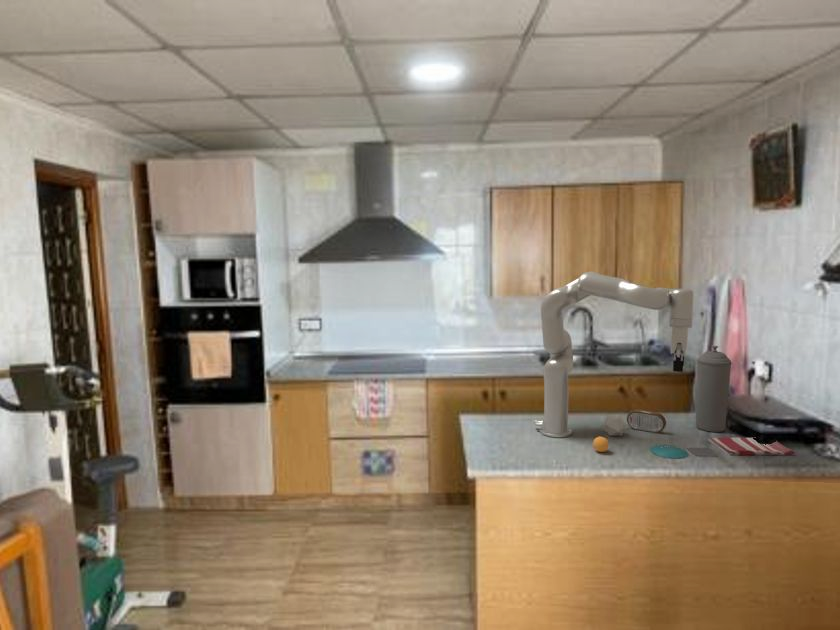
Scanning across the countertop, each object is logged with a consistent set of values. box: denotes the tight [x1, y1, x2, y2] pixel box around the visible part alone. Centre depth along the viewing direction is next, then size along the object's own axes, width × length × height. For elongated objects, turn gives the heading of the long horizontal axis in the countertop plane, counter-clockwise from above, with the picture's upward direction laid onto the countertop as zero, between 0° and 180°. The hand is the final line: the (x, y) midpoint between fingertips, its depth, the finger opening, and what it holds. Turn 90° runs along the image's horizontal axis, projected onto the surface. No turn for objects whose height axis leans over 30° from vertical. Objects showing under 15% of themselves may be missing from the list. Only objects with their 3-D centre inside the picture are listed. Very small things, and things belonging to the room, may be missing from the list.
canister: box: [695, 345, 733, 433], centre depth 229 cm, size 13×13×35 cm
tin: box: [626, 408, 667, 434], centre depth 229 cm, size 15×3×8 cm, turn 58°
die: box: [602, 414, 628, 437], centre depth 225 cm, size 8×9×10 cm
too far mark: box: [686, 447, 719, 457], centre depth 205 cm, size 8×8×1 cm
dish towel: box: [708, 436, 795, 457], centre depth 209 cm, size 17×23×3 cm
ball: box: [592, 436, 610, 453], centre depth 207 cm, size 6×6×6 cm
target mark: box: [649, 444, 689, 460], centre depth 206 cm, size 13×13×1 cm
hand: (678, 368), depth 204 cm, fingers open, 9 cm apart
